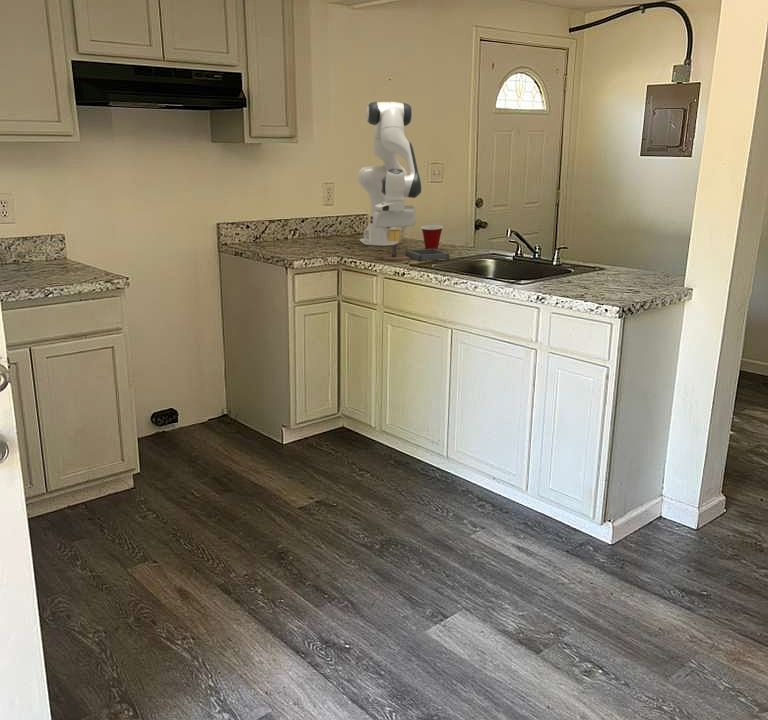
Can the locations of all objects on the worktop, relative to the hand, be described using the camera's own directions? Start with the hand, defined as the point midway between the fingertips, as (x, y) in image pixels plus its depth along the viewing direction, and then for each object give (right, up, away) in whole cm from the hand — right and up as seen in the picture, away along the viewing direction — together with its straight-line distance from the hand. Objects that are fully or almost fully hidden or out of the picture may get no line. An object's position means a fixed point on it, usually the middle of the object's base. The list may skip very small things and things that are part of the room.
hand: (394, 236), depth 347 cm
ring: (0, -2, 0) cm, 2 cm away
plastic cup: (+19, -3, +26) cm, 32 cm away
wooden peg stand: (0, -10, +3) cm, 10 cm away
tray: (+15, -9, +5) cm, 19 cm away
